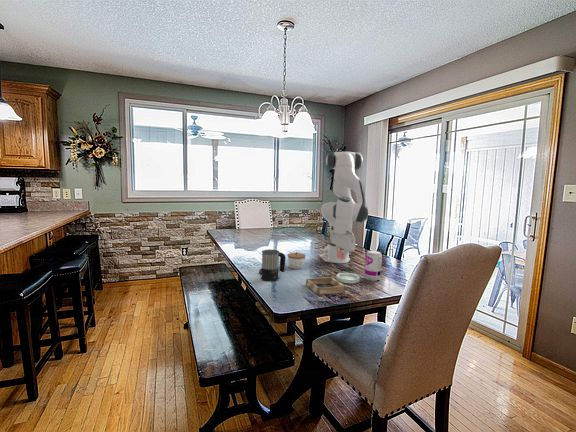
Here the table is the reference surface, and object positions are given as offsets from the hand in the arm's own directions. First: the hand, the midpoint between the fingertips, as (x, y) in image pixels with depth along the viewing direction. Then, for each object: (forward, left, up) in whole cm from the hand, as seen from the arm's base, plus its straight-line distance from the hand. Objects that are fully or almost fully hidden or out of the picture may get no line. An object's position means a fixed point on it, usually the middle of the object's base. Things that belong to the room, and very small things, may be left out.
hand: (341, 255), depth 154 cm
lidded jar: (-30, -13, -14) cm, 36 cm away
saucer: (-2, +6, -14) cm, 15 cm away
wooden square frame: (+7, -12, -14) cm, 20 cm away
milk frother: (-17, -34, -14) cm, 41 cm away
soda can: (0, +20, -14) cm, 24 cm away
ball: (0, 0, +1) cm, 1 cm away
